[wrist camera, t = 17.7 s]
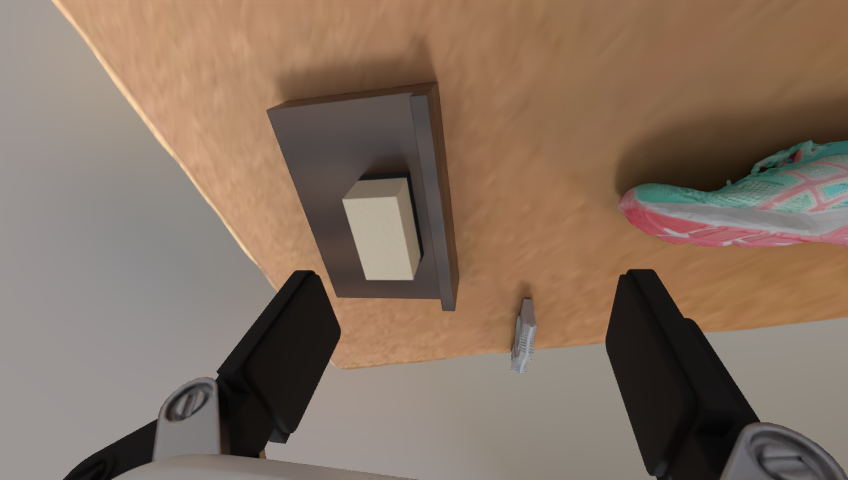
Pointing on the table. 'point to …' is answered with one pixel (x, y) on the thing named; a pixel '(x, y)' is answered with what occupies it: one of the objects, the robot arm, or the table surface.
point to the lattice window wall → (524, 337)
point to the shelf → (372, 154)
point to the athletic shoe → (754, 203)
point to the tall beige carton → (385, 225)
